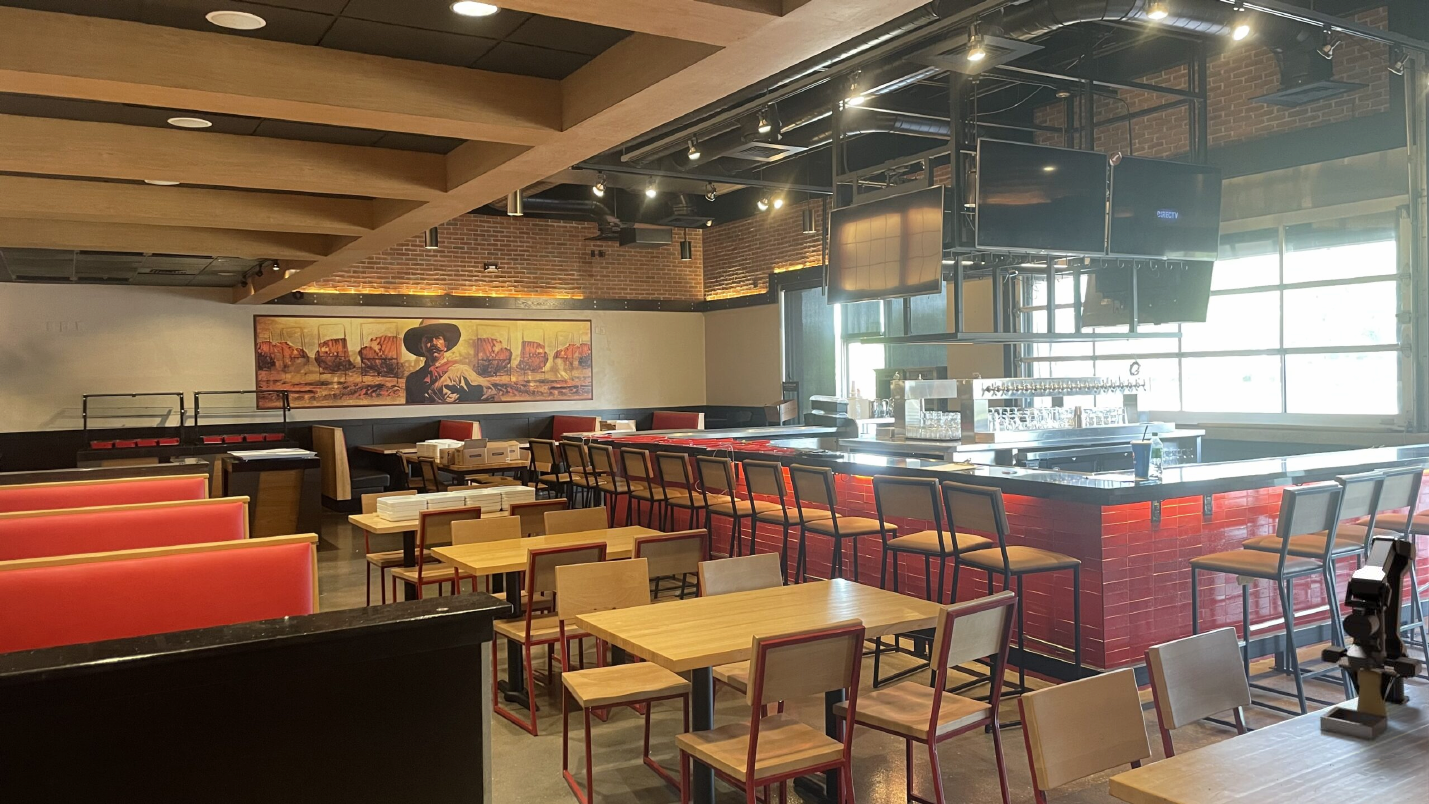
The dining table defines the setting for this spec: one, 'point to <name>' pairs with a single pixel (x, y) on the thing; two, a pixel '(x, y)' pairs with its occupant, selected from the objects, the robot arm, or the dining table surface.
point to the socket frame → (1353, 723)
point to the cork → (1370, 692)
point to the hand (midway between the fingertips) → (1371, 697)
